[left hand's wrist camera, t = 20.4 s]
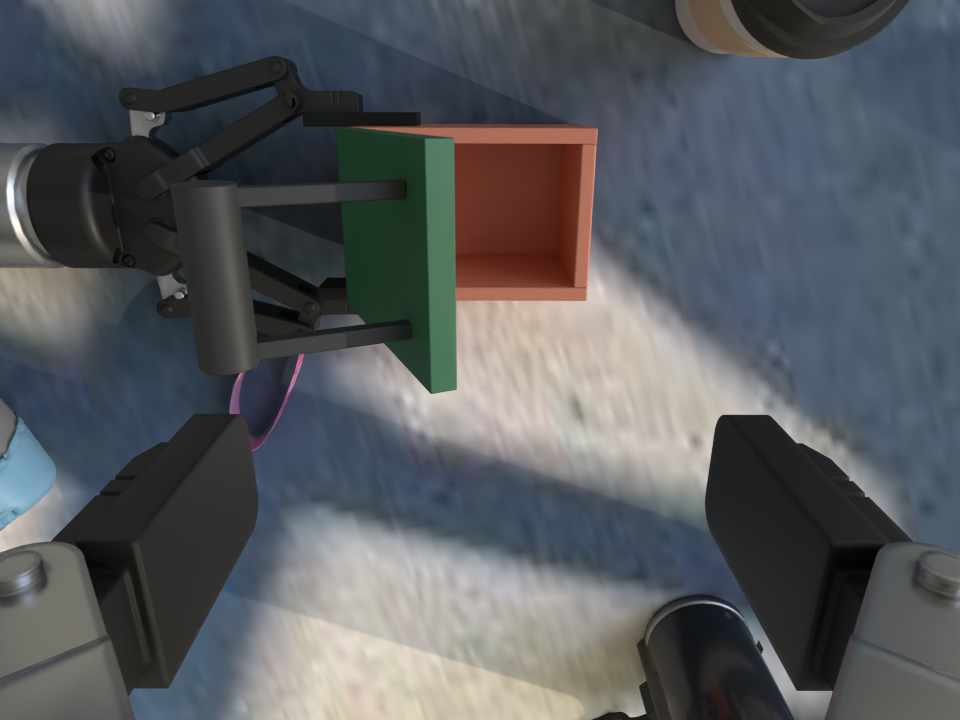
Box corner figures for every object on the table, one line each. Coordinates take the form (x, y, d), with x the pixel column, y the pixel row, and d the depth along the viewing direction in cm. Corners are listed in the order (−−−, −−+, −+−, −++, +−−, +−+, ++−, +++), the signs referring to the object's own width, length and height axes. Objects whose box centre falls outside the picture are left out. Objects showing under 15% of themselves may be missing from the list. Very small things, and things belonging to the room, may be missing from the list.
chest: (572, 124, 45) (598, 128, 35) (566, 262, 48) (586, 301, 39) (376, 123, 45) (347, 127, 35) (383, 262, 48) (359, 300, 39)
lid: (454, 137, 23) (162, 142, 19) (457, 390, 26) (209, 432, 23) (356, 127, 35) (163, 128, 31) (367, 302, 38) (194, 321, 35)
